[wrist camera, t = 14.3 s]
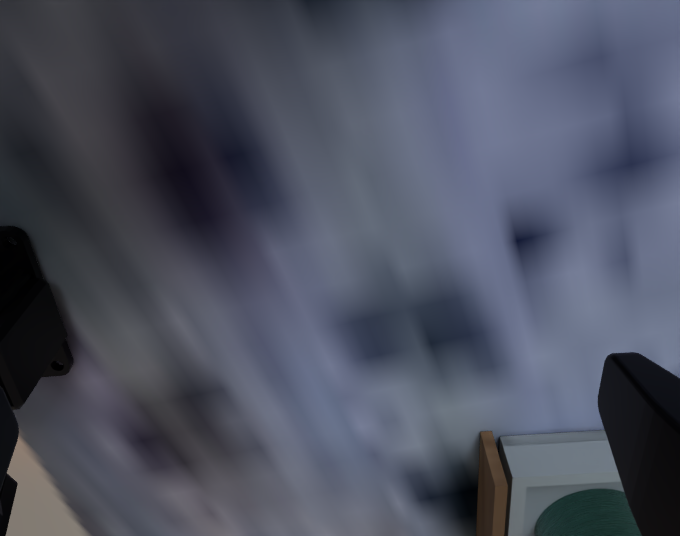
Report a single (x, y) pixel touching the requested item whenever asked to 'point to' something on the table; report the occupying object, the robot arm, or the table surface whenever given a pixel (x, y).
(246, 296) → the table surface
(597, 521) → the tea tin
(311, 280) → the table surface
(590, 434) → the tray
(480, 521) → the walnut stand
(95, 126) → the table surface
